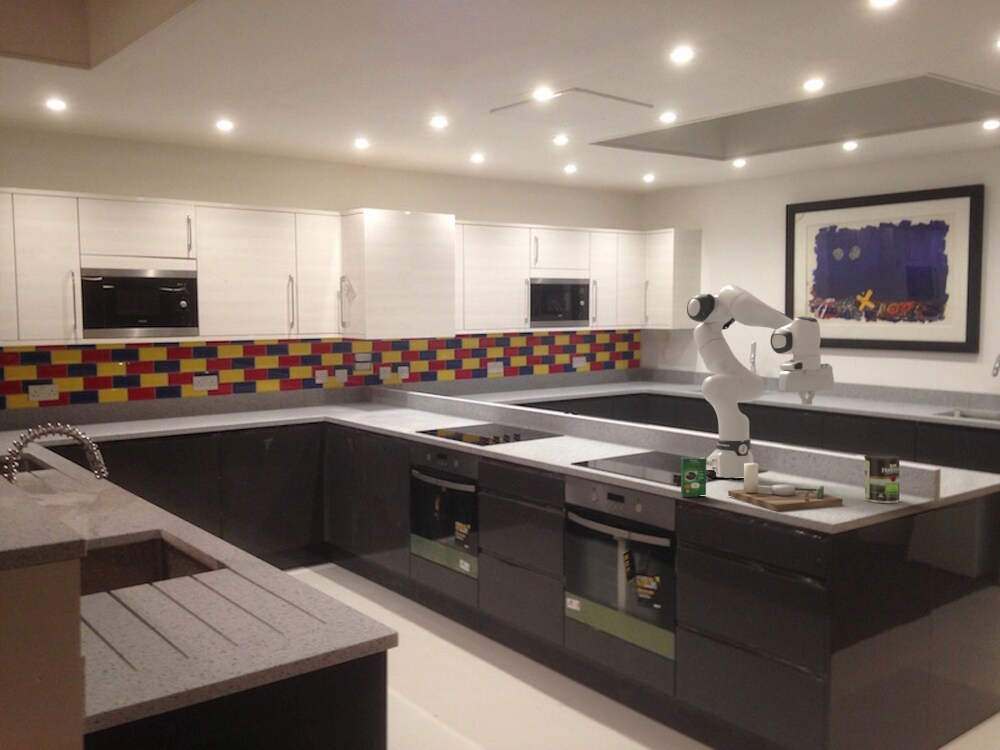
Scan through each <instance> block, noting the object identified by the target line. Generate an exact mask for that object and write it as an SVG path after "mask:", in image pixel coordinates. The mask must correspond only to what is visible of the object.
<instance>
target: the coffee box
mask: <svg viewBox="0 0 1000 750" xmlns="http://www.w3.org/2000/svg"><path fill="white" fill-rule="evenodd" d="M706 460H707V458H705V457H681V461H680V462H681V464H680V467H681V469H680V470H681V471H680V472H681V473H680V497H682V498H699V497H698V496H700V495H706V496H707V476H706Z"/></svg>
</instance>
